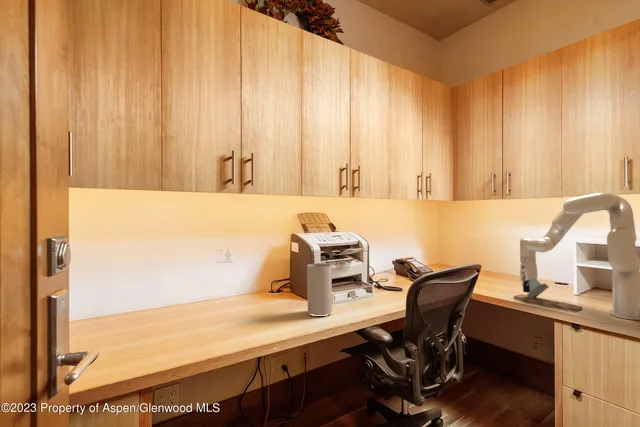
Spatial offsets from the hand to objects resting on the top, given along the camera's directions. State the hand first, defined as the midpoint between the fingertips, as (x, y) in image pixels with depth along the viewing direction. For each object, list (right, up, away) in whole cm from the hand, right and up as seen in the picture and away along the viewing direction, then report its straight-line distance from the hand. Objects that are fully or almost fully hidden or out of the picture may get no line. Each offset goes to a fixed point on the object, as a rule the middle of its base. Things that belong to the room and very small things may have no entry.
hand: (528, 291), depth 183 cm
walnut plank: (+4, -5, -8) cm, 10 cm away
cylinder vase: (-120, -7, -19) cm, 122 cm away
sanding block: (+3, 0, -5) cm, 6 cm away
